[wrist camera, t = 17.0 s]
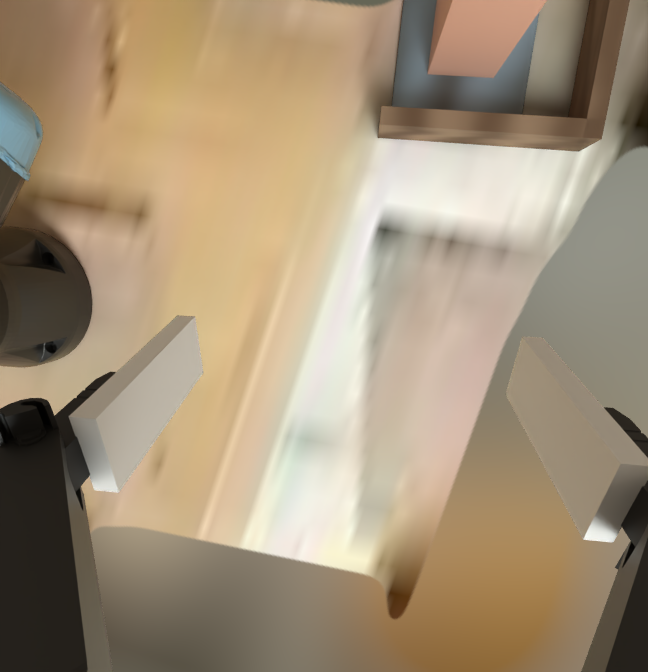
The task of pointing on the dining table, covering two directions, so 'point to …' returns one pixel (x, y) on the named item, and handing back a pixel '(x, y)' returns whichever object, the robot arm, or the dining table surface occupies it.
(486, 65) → the block
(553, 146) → the corner bracket
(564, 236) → the dining table surface
